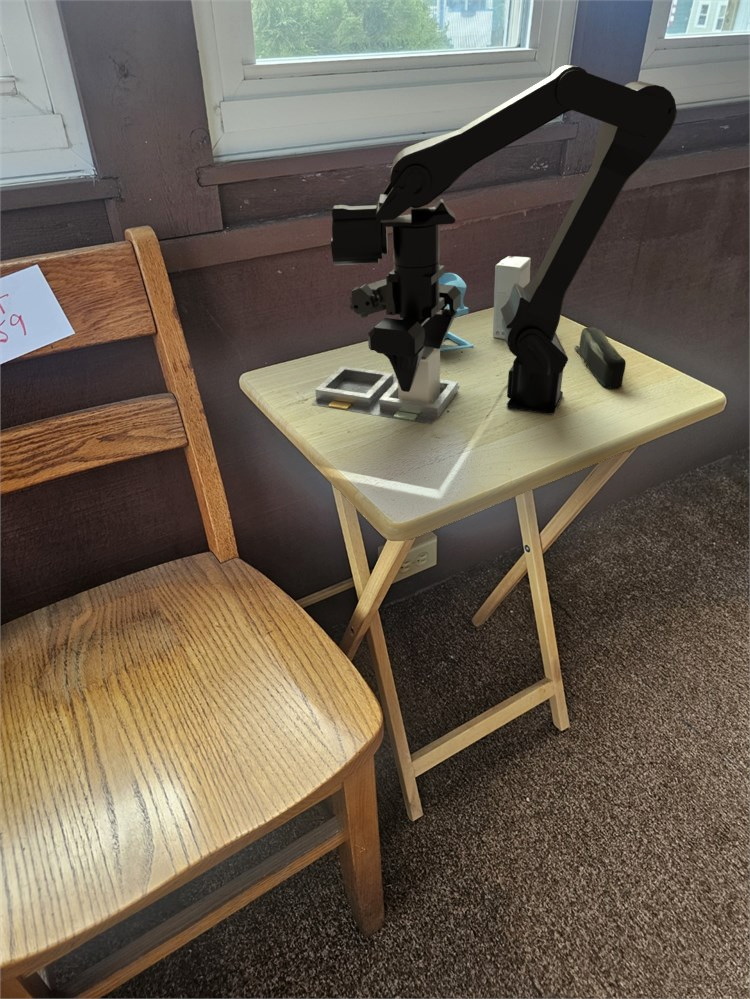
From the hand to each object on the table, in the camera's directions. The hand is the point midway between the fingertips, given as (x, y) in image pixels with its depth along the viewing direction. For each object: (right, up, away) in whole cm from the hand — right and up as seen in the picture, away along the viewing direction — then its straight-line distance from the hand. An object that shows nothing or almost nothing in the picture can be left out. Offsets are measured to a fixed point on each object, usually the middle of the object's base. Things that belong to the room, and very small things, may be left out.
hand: (418, 376), depth 92 cm
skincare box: (+17, +12, +23) cm, 31 cm away
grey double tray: (-4, -3, +4) cm, 7 cm away
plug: (0, -3, +2) cm, 4 cm away
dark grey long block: (+28, +3, +10) cm, 29 cm away
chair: (+5, +8, +19) cm, 21 cm away
